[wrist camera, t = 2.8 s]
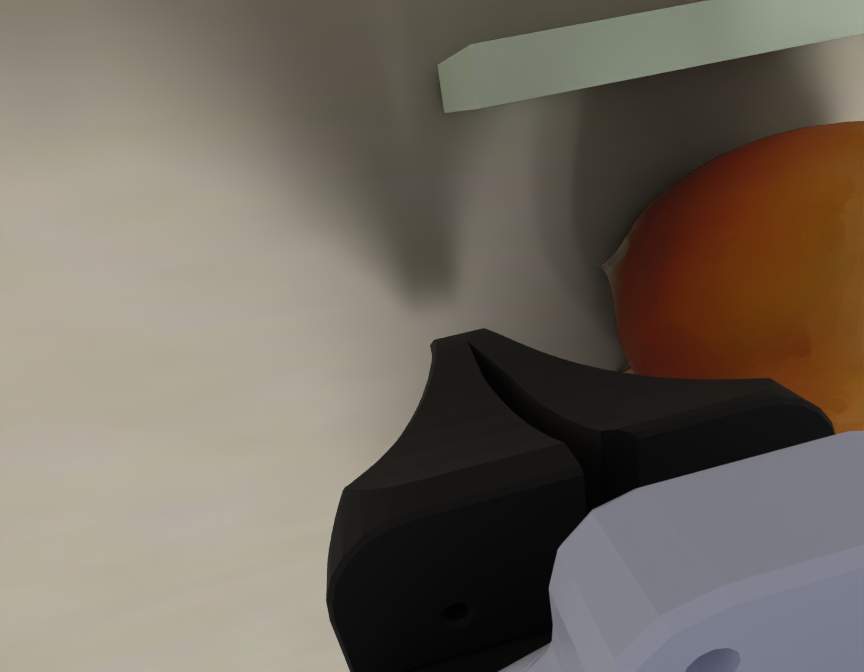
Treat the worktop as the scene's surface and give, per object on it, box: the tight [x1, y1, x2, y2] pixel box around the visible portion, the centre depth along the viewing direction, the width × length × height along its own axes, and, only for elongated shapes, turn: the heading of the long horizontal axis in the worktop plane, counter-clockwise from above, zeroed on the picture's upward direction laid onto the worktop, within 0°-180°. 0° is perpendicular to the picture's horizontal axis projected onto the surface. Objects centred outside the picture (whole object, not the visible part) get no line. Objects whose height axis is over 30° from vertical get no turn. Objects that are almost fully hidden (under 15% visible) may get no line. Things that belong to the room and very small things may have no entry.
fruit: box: [597, 121, 864, 434], centre depth 12 cm, size 8×8×8 cm
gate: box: [437, 0, 864, 113], centre depth 10 cm, size 13×2×3 cm, turn 100°
